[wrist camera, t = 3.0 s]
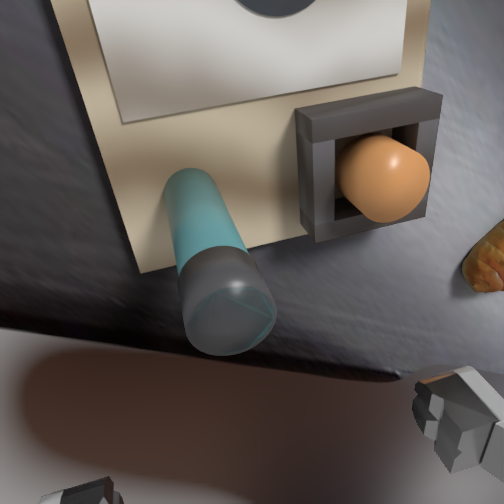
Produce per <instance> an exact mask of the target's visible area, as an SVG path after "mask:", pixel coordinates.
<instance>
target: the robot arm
mask: <svg viewBox="0 0 504 504" xmlns="http://www.w3.org/2000/svg"><path fill="white" fill-rule="evenodd" d="M414 390H415V392H416V393H417V394H418V395H417V396H416V397H415V398H414V399H413V401H412V412H413V415H414V419H415V421H416V423H417V425H418V427H419V428H420V430H421V431H422V433H423V434H424V435H425V436H427V437H428V438H430V439H432V440H434V451H435V452H436V454H437V455H438V456H439V457H440V459H441V461H442V462H443V464H444V465H445V467H446V468H447V469H448V471H449V472H450V474H452V473H455V472H458V471H461V470H464V469H468V468H471V467H474V466H477V465H480V464H481V466H480V467H482V468H483V469H485V470H486V471H488V472H489V473H491V474H492V475H494V476H495V477H497V478H498V479H499V480H501V481H502V482H504V399H503V398H502V397H501V396H500V395H499V394H498V393H497V392H496V391H495V390H494V389H493V388H492V387H491V386H490V384H489V383H488V382H486V380H485V379H484V378H483V377H482V376H481V375H480V374H479V373H478V372H477V371H476V370H475V369H474V368H472V367H470V366H464V367H461V368H458V369H455V370H451V371H447V372H444V373H441V374H438V375H435V376H432V377H429V378H426V379H423V380H420V381H418V382H417V383H416V384H415V388H414ZM113 489H114V483H113V481H112V480H111V478H110V477H109V476H107V477H104V478H101V479H98V480H95V481H91V482H88V483H85V484H81V485H78V486H75V487H72V488H68V489H63V490H60V491H57V492H54V493H51V494H48V495H44V496H42V497H41V499H40V501H39V503H38V504H124V502H123V499H122V497H121V495H120V493H119V492H116V491H114V490H113Z"/></svg>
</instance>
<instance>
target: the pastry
mask: <svg viewBox="0 0 504 504" xmlns="http://www.w3.org/2000/svg"><path fill="white" fill-rule="evenodd" d="M462 272H463V276H464V279H465V280H466V281H467V282H468V283H469V285H470V286H471V288H472V289H473V290H474V291H475V292H484V293H487V292H495V291H504V220H503V221H502V222H500V223H499V224H497V225H496V226H495V227H494V228H493V229H492V230H491V231H489V232H488V233H487V234H486V235H485V236H484V237H483V238H482V239H481V240H479V241H478V242H477V243H476V244H475V246H474V247H473V248H472V250H471V252H470V254H469V255H468V256H467V257H466V258H465V260H464V261H463V266H462Z"/></svg>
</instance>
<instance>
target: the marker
mask: <svg viewBox="0 0 504 504" xmlns="http://www.w3.org/2000/svg"><path fill="white" fill-rule="evenodd" d="M164 200H165V205H166V211H167V216H168V221H169V227H170V232H171V238H172V243H173V249H174V254H175V260H176V265H177V270H178V276H179V277H178V291H179V296H180V302H181V308H182V314H183V319H184V325H185V331H186V335H187V337H188V339H189V341H190V342H191V343H192V345H193V346H195V347H196V348H197V349H199V350H200V351H202V352H205V353H208V354H211V355H219V356H225V355H233V354H238V353H241V352H244V351H246V350H249V349H250V348H252V347H254V346H256V345H257V344H259V343H260V342H261V341H262V340H263V339H264V338H265V337H266V336H267V335H268V334H269V333H270V331H271V330H272V328H273V326H274V324H275V321H276V316H277V309H276V304H275V302H274V299H273V297H272V295H271V293H270V291H269V289H268V287H267V285H266V283H265V281H264V279H263V277H262V275H261V273H260V270H259V268H258V266H257V264H256V262H255V261H254V259H253V258H252V257H251V256H250V255H249V253H248V251H247V249H246V247H245V245H244V243H243V241H242V239H241V236H240V234H239V232H238V230H237V228H236V226H235V224H234V222H233V220H232V217H231V215H230V213H229V211H228V209H227V207H226V205H225V203H224V200H223V198H222V196H221V194H220V192H219V190H218V188H217V186H216V184H215V181H214V180H213V178H212V177H211V176H210V175H209V174H208V173H206V172H205V171H203V170H201V169H197V168H185V169H182V170H179V171H177V172H175V173H174V174H173V175H172V176H171V177H170V178H169V179H168V181H167V182H166V184H165V187H164Z"/></svg>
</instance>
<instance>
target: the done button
mask: <svg viewBox="0 0 504 504" xmlns="http://www.w3.org/2000/svg"><path fill="white" fill-rule="evenodd" d="M429 180H430V170H429V166H428V163H427V161H426V159H425V158H424V157H423V156H422V155H421V154H420V153H418V152H416V151H414V150H412V149H410V148H409V147H407V146H405V145H403V144H401V143H399V142H397V141H395V140H394V139H392V138H390V137H388V136H386V135H384V134H381V133H366V134H363V135H361V136H358V137H357V138H355V139H353V140H352V141H351V142H350V143H348V144H347V145H346V146H345V148H344V149H343V150H342V151H341V153H340V155H339V156H338V158H337V161H336V164H335V185H336V187H337V189H338V190H339V192H340V193H341V194H342V195H343V196H344V197H345V198H347V199H348V200H349V201H350V202H351V203H352V204H353V205H354V206H355V207H356V208H357V209H359V210H360V211H361V212H362V213H363V214H364V215H365V216H366V217H367V218H369V219H370V220H372V221H375V222H379V223H387V222H392V221H396V220H398V219H400V218H402V217H404V216H406V215H407V214H409V213H410V212H411V211H412V210H413V209H414V208H415V207H416V206H417V205H418V204H419V203H420V201H421V200H422V198H423V197H424V195H425V193H426V191H427V188H428V185H429Z"/></svg>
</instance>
